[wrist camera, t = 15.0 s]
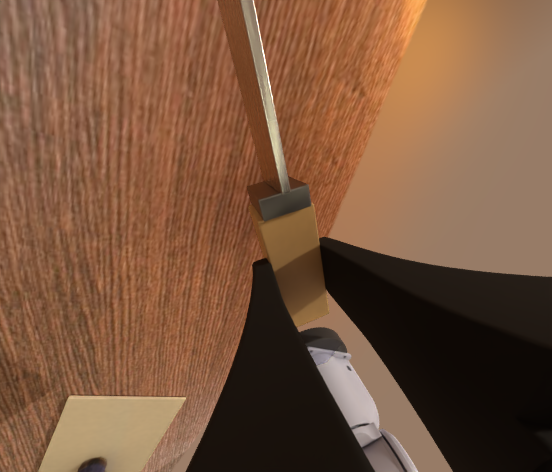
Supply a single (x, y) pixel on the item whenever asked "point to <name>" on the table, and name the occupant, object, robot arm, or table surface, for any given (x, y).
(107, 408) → the cake board
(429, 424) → the robot arm
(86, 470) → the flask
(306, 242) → the knife
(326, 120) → the table surface
